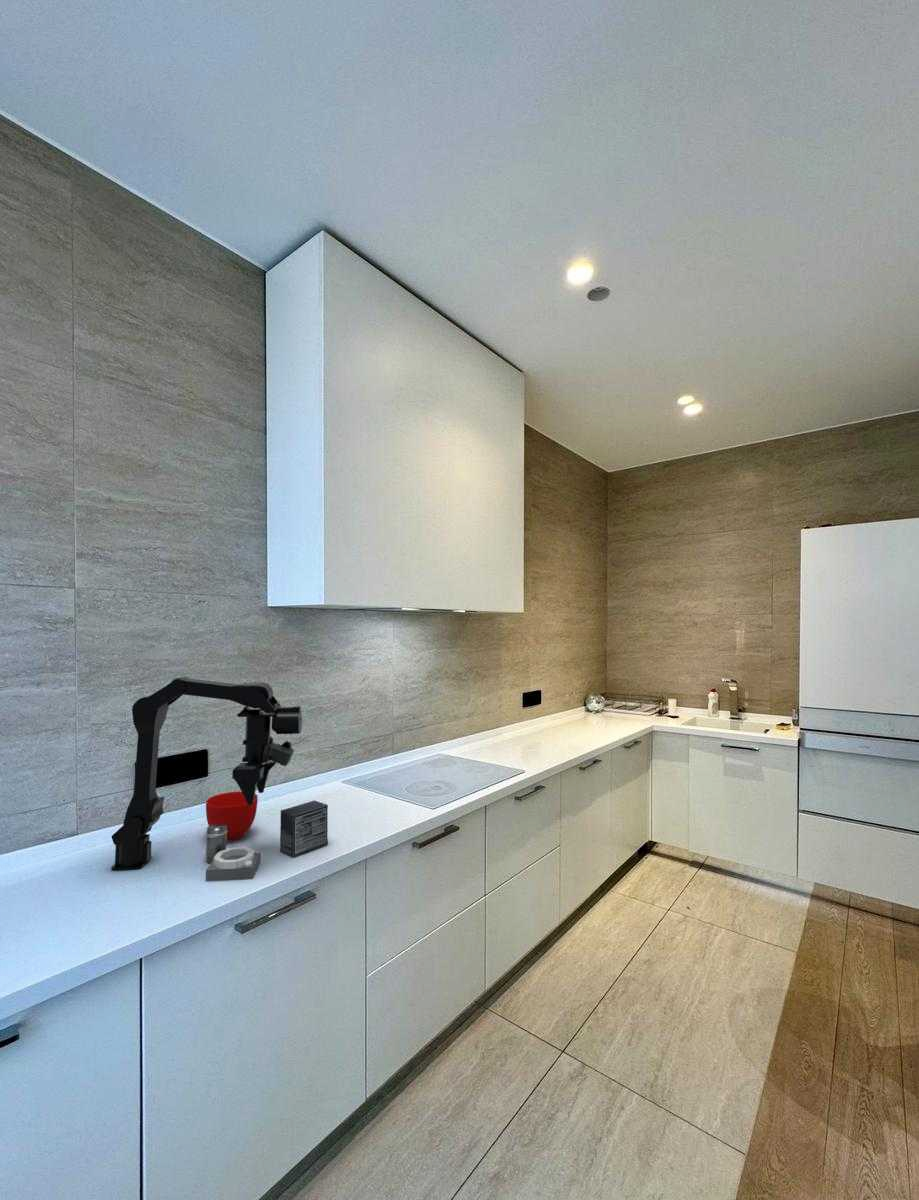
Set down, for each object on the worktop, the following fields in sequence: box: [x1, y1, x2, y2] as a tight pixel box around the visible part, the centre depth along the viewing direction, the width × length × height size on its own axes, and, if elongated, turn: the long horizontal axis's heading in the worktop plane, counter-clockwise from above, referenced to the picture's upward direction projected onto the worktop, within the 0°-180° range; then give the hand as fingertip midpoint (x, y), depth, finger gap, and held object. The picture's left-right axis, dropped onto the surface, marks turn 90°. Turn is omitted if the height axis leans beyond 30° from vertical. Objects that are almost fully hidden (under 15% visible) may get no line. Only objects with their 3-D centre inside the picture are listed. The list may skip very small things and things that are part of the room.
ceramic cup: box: [205, 791, 259, 842], centre depth 148 cm, size 13×17×10 cm
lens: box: [205, 823, 227, 865], centre depth 131 cm, size 5×5×8 cm
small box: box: [279, 800, 329, 859], centre depth 139 cm, size 11×6×10 cm, turn 141°
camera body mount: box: [205, 846, 262, 882], centre depth 125 cm, size 10×8×4 cm
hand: (255, 798), depth 133 cm, fingers open, 9 cm apart
